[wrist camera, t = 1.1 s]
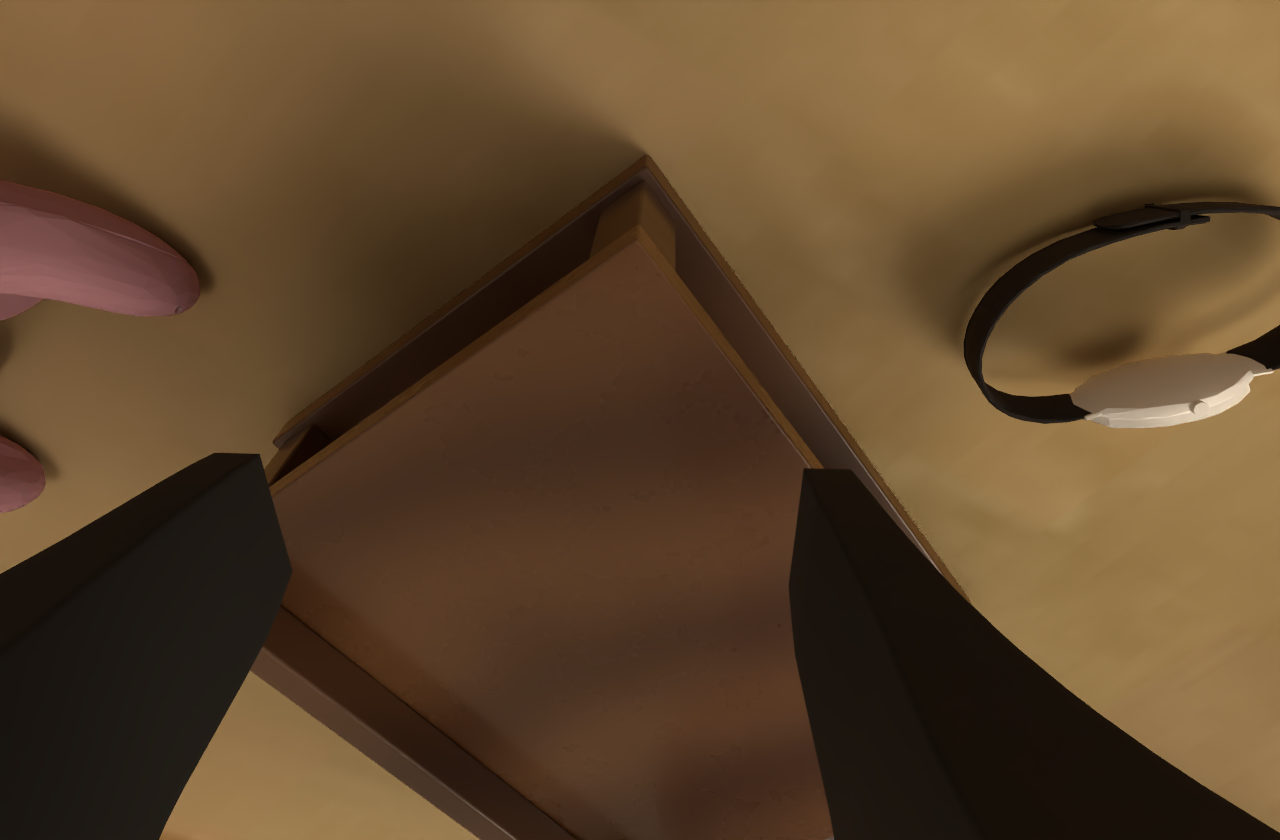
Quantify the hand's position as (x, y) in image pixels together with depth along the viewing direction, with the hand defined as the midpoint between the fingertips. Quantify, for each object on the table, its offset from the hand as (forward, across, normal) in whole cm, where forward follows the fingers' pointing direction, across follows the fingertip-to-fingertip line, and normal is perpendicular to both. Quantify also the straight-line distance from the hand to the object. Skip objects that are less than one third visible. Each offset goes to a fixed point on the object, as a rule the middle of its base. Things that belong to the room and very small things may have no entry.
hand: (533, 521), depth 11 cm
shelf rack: (+10, -1, +8) cm, 12 cm away
